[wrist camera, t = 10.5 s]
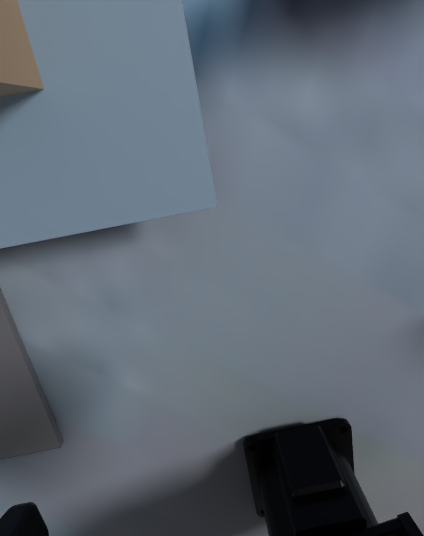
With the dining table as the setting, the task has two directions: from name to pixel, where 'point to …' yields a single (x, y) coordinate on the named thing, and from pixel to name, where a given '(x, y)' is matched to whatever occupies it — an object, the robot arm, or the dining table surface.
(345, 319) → the dining table surface
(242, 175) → the dining table surface
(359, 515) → the robot arm
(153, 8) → the cover
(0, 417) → the mat
